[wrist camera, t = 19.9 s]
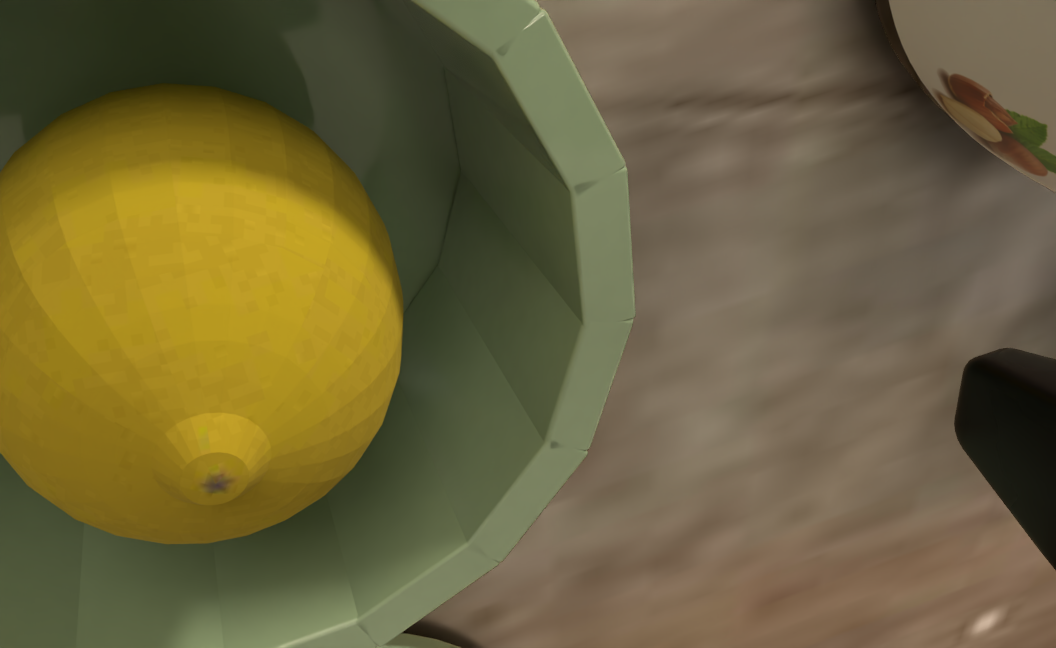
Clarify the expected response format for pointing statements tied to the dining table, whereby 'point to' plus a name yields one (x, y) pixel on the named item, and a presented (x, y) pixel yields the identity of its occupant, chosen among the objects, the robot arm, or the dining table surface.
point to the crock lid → (416, 642)
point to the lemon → (190, 314)
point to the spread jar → (986, 71)
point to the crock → (428, 309)
